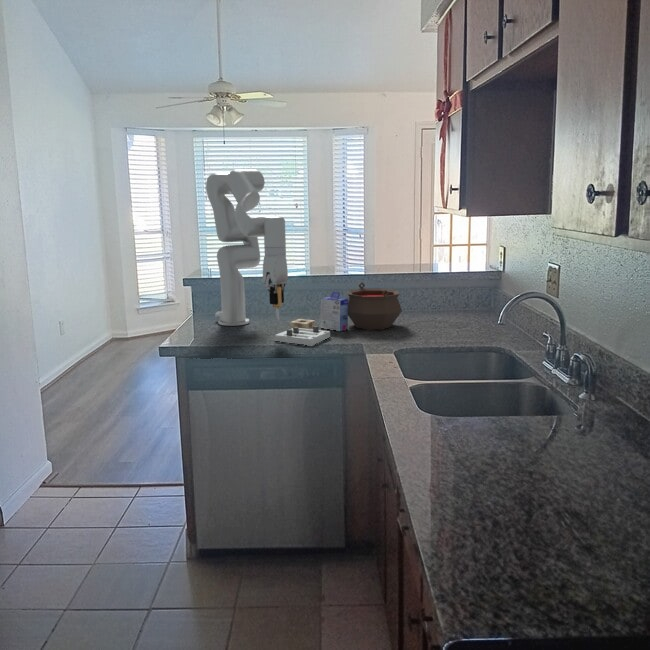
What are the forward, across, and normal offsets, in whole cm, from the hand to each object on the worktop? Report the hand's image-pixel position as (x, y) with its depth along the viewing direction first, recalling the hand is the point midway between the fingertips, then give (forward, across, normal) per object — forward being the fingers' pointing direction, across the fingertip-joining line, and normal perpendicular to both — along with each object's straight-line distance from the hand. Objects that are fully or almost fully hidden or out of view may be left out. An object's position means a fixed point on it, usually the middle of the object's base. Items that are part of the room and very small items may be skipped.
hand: (276, 302), depth 235 cm
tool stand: (+14, -17, +1) cm, 22 cm away
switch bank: (+14, -5, +8) cm, 17 cm away
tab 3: (+12, -9, +11) cm, 19 cm away
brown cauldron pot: (+14, -38, +21) cm, 45 cm away
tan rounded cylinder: (+6, 0, 0) cm, 6 cm away
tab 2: (+12, -5, +5) cm, 14 cm away
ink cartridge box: (+14, -26, +10) cm, 31 cm away
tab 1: (+12, 0, +5) cm, 13 cm away
